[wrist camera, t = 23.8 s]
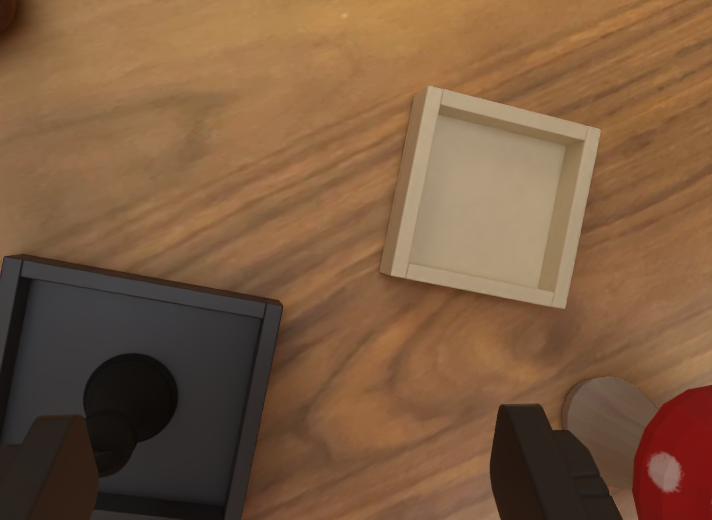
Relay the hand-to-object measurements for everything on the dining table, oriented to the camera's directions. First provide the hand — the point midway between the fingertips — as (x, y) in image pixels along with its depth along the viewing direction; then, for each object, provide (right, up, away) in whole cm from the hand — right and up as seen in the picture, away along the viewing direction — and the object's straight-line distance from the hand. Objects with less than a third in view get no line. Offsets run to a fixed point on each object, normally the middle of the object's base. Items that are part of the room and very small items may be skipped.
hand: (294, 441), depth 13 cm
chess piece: (-10, -3, +20) cm, 22 cm away
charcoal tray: (-10, -3, +20) cm, 23 cm away
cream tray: (+8, +7, +23) cm, 25 cm away
